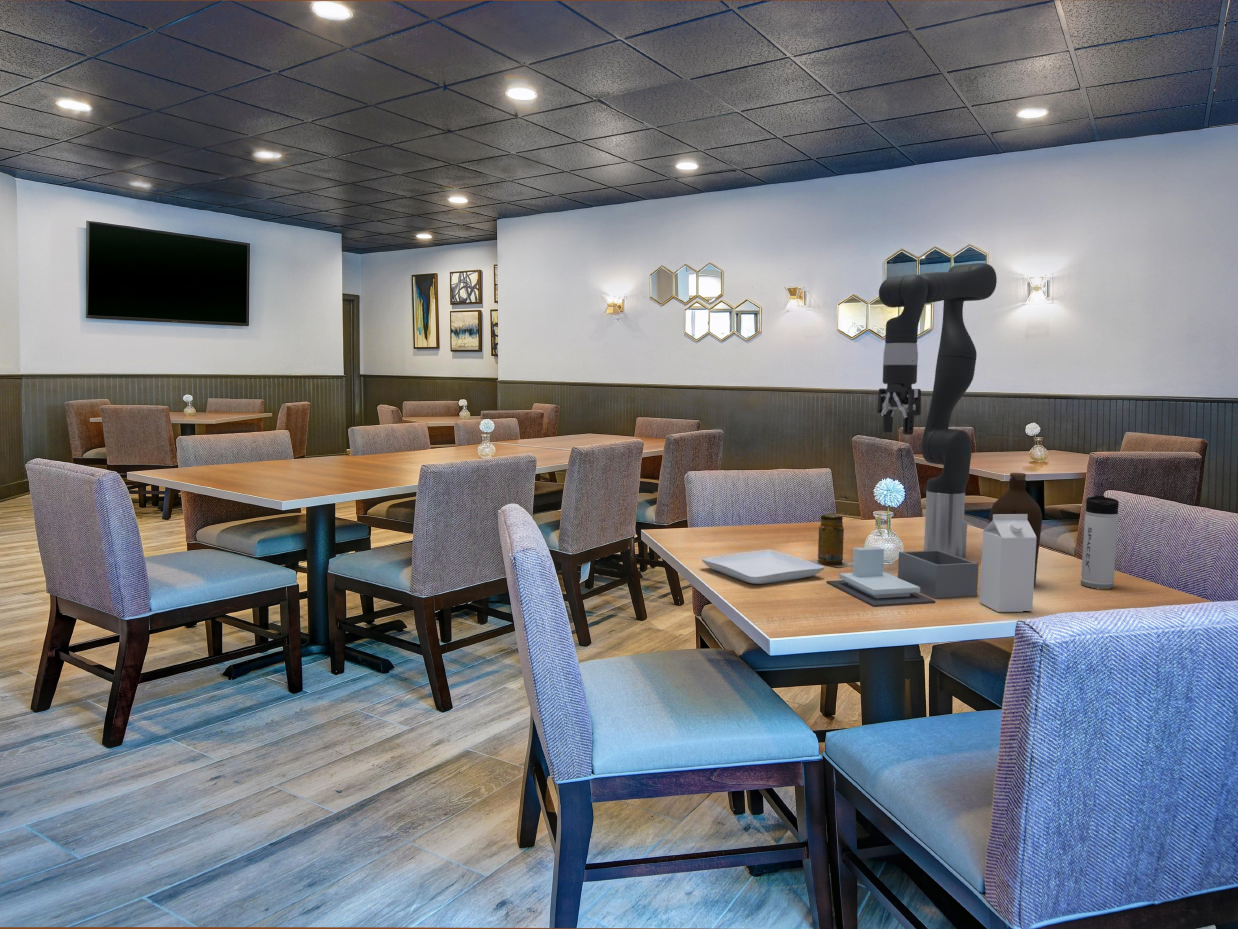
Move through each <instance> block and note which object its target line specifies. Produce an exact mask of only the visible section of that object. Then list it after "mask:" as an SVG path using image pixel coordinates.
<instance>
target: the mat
mask: <svg viewBox="0 0 1238 929" xmlns="http://www.w3.org/2000/svg"><path fill="white" fill-rule="evenodd" d="M826 584H828V585H830V586H832V587H833V588H834V587H835V588H836V589H839V590H840V591H842V592H844V593H846V594H848V595H850V596H851V597H854V598H856V599H858V600H859V601H861V602H864V603H866V604H868V605H870V606H871V607H874V608H876V607H892V606H905V605H906V606H907V605H922V604H923V605H924V604H925V605H926V604H935V603H936V600H934V599H932V598H929V597H927V596H926V595H923V594H922V593H919V592H912V593H910V596H907V597H890V598H875V597H873V596H871V595H868V594H866V593H864V592H862V591H860V590H858V589H856V588H854V587H852V586H850V585H848V582H847V581H845V580H842V579H839V580H836V579H835V580H827V581H826Z"/></svg>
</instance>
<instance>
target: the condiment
mask: <svg viewBox="0 0 1238 929" xmlns="http://www.w3.org/2000/svg"><path fill="white" fill-rule="evenodd" d="M843 519H844V518H843V516H842V515H840V514H834V513H833V514H832V513H831V514H830V513H829V514H828V513H826V514H821V515H820V525H819V526H818V539H817V540H818V542H817V543H818V546H817V547H818V548H817V560H811V561H810V562H813V563H815V564H818V565H822V566H825V565H826V566H830V567H836V568H844V567H850V566H853V562H851V561H846V560H845V561H844V538H845V535H844V534H845V532H844V531H845V529H844V526H843Z"/></svg>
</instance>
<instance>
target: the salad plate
mask: <svg viewBox="0 0 1238 929" xmlns="http://www.w3.org/2000/svg"><path fill="white" fill-rule="evenodd" d="M700 559H701V561H702V562H703V564H704V565H706V566H707V567H708V568H710V569H712V570H714V571H716V572H719V573H721V574H724V575H725V576H728V577H732V578H735V579H737V580H740V581H743V582H745V583H749V584H752V585H765V584H774V583H779V582H780V583H781V582H789V581H794V580H800V579H806V578H810V577H812V576H816V575H819V573H821V572H823V571H824V569H825V568H826V567H825V565H822V564H818V563H814V562H810V561H809V560H806V559H803V558H800V557H797V556H794V555H791V554H787V553H784V552H780V551H776V550H775V549H763V550H754V551H744V552H736V553H729V554H723V555H716V556H708V557H701V558H700Z"/></svg>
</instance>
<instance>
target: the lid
mask: <svg viewBox="0 0 1238 929" xmlns="http://www.w3.org/2000/svg"><path fill="white" fill-rule="evenodd" d="M852 550H853V551H852V563H853V565H852V568H851V570H852V572H841V573H839V574H838V575H839V576H838V578H839V580H845V581H847V582H848V585H850V586H852V587H854V588H856V589H858V590H860V591H862V592H864V593H866V594H868V595H871V596H873V597H875V598H890V597H907V596H910V593H912V592H916V593H921V592H920V587H918V586H916V585H914V584H911V583H909V582H906V581H904V580H902V579H899V578H898V576H895V575H892V574H889V573H887V572H885V571H884V557H885V555H884V554H885V548H882V547H879V546H867V547H864V546H863V547H853V548H852Z"/></svg>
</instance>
